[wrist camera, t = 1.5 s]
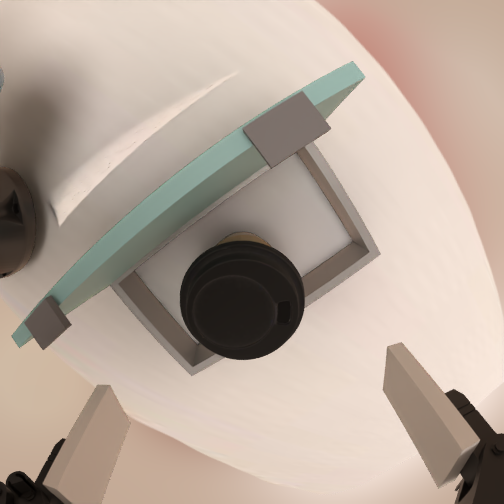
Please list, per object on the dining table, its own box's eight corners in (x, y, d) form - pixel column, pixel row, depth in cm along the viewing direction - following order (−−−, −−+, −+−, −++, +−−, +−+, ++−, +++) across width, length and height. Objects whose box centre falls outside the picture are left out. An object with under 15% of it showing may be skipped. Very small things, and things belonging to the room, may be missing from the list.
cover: (114, 296, 29) (102, 279, 29) (318, 146, 26) (304, 127, 26) (23, 369, 14) (3, 341, 13) (389, 93, 10) (358, 53, 10)
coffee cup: (295, 271, 35) (329, 335, 21) (226, 305, 36) (218, 384, 22) (259, 201, 33) (273, 221, 18) (186, 239, 34) (149, 287, 19)
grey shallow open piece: (122, 267, 34) (106, 281, 29) (297, 138, 31) (306, 132, 26) (196, 353, 38) (191, 376, 33) (363, 243, 35) (380, 254, 30)
